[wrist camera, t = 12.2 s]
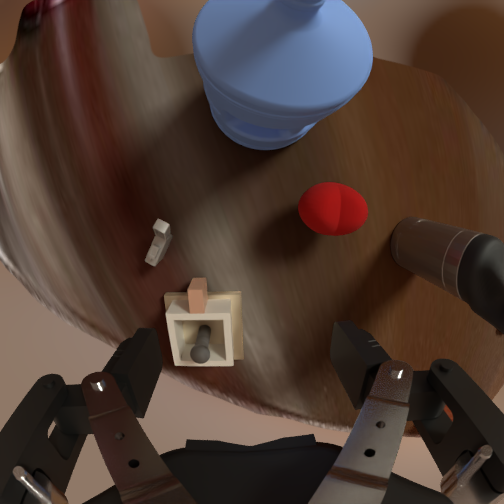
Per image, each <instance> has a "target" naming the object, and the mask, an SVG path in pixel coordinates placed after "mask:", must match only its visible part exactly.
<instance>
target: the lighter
mask: <svg viewBox="0 0 504 504" xmlns="http://www.w3.org/2000/svg"><path fill="white" fill-rule="evenodd" d="M153 230H154V233H155V235H156V236H155V237H154V240H153V242H152V244H151V247H150V249H149V251H148V254H147V256H146V259H145V262H147V263H149V264H151V265H152V266H156V265H157V264H158V263H159V262H160V261H161V260H162V259H163V257H164V255H165V253H166V250H167V248H168V246H169V244H170V242H171V239H172V237H173V236H172V235H171V234H170V233H171V231H170V225H169V224H168V223H166V222H164V221H162V220H160V219H157V221H156V223H155V224H154V226H153Z"/></svg>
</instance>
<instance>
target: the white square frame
mask: <svg viewBox="0 0 504 504" xmlns="http://www.w3.org/2000/svg"><path fill="white" fill-rule="evenodd" d="M166 319H167V326H168V332H169V337H170V343H171V348H172V354H173V359H174V364H175V366H234V346H233V330H232V312H231V299H208V295H207V282H206V278H193V279H192V281H191V283H190V285H189V288H188V300H173V301H172V303H171V305H170V306H169V308H168V310H167V312H166ZM182 320H223V323H224V337H225V344H209V347H208V349H209V351H210V358H209V360H208V361H207V362H205V363H203V364H198V363H195V362H194V361H193V360H192V359H191V357H190V351H191V349H192V347H193V346H195V344H185V339H184V332H183V325H182Z"/></svg>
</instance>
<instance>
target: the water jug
mask: <svg viewBox="0 0 504 504" xmlns="http://www.w3.org/2000/svg"><path fill="white" fill-rule="evenodd" d="M192 35H193V36H192V41H193V50H194V58H195V62H196V65H197V68H198V71H199V73H200V76H201V78H202V79H203V83H204V89H205V93H206V96H207V99H208V101H209V104H210V109H211V113H212V116H213V118H214V120H215V122H216V124H217V125H218V127H219V128H220V129H221V131H222V132H223V133H224V134H225V135H226V136H228V137H229V138H230V139H231V140H233V141H234V142H236V143H238V144H240V145H242V146H245V147H248V148H252V149H257V150H274V149H279V148H283V147H286V146H288V145H290V144H292V143H294V142H296V141H297V140H299V139H300V138H301V137H302V136H304V135H305V134H306V133H307V132H308V130H310V129H311V128H312V127H313V126H314V125H315V124H316V123H317V122H318V121H320V120H322V119H323V118H325V117H326V116H328V115H330V114H332V113H334V112H335V111H337V110H338V109H340V108H341V107H342V106H344V105H345V104H346V103H347V102H349V101H350V100H351V99H352V98H353V97H354V95H355V94H356V93H357V92H358V91H359V90H360V89H361V88H362V87H363V85H364V84H365V82H366V81H367V79H368V76H369V74H370V71H371V67H372V61H373V54H372V45H371V41H370V38H369V35H368V33H367V31H366V29H365V27H364V25H363V24H362V22H361V21H360V19H359V18H358V16H357V15H356V14H355V13H354V12H353V11H352V10H351V8H349V6H347V5H346V4H345V3H344V2H343V1H341V0H209V1H208V2H207V3H206V4H205V5H204V6H203V8H202V9H201V10H200V12H199V14H198V16H197V18H196V20H195V23H194V27H193V34H192Z"/></svg>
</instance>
